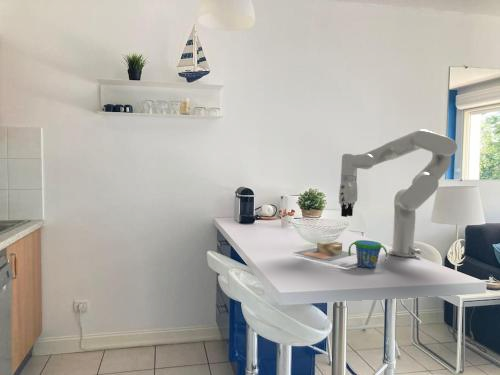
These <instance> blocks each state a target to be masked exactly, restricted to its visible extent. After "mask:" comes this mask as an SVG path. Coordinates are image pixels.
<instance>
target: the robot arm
mask: <svg viewBox="0 0 500 375" xmlns="http://www.w3.org/2000/svg"><path fill="white" fill-rule="evenodd" d="M421 149H423V150H426V151H427V152H431V153H432V158H431V160H430V161H429V162H428V164H426V166H425V167H424V168H423V169H421V170H420V172H419V173H417V174H416V175H414V177H413V179H412V182H411V185H410V186H408V188H403V189H400V190H398V191H397V192H396V194H395V195H394V199H393V202H394V203H393V205H394V206H393V207H394V215H393V231H392V233H393V234H392V248H391V249H389V250H388V253H389V254H391V255H392V256H396V257H403V258H414V257H417V254H418V255H422V253H423V250H422V249H419V248H417V246H416V245H415V244H414V242H415V230H416V210H417V209H419V208H420V207H421V206H422V205H423V204H424V203H425V202H427V201H428V200H429V199H430V197H431V196H433V195H434V194H435V192H436V191H437V190H438V188H439V184H440V183H439V180H441V179H442V177H443V176H444V175H445V174H446V173H447V172H448V170H449V168H450V166H451V162H452V156H453V155H454V154H455V153H456V152H457V150H458V144H457V142H456V141H455V140H454V139H453V138H451V137H448V136H446V135H442V134H439V133H436V132H432V131H429V130H427V129H418V130H415V131H413V132H410V133H408V134H406V135H403V136H401V137H399V138H396V139H394V140H391V141H389V142H386V143H385V144H383V145H381V146H379V147H377V148H375V149H372V150H369V151H367V152H365V153H362V154H360V153H359V154H357V153H356V154H355V153H343V154H342V156H341V166H340V168H341V169H340V170H341V172H340V173H341V174H340V186H339V192H338V204H339V205H340V208H341V211H340V212H341V213H340V214H341V215H340V216H341V217H345V218H347V217H353V213H354V206H355V204H356V203H357V201H358V183H357V179H358V178H357V177H358V176H357V175H358V169H360V170H369V169H371V168H373V167H374V166H376V165H379V164H382V163H384V162H387V161H391V160H392V161H393V160H395V159H399V158H400V157H403V156H405V155H408V154H410V153H413V152H416V151H418V150H421Z"/></svg>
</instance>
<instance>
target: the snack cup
mask: <svg viewBox="0 0 500 375" xmlns="http://www.w3.org/2000/svg"><path fill="white" fill-rule="evenodd" d="M353 245H355V249H356V261H357V265H358V266H359V267H360V268H367V269H374V268H377V264H378V260H379V256H380V252H381V250H382V249H381V248H383V250H384V252H385V258H384V261H385V262H386V261H387V257H388V251H387V248H386V247H385V246H384V245H383V244H382V243H380V242H378V241H374V240H373V241H372V240H365V239H361V240H360V239H359V240H356V241H353V242H352V243H351V244H350V245H349V247H348V251H347V252H348V253H349V256H348V257H351V254H350V253H351V247H352V246H353Z"/></svg>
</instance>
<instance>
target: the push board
mask: <svg viewBox="0 0 500 375" xmlns="http://www.w3.org/2000/svg"><path fill="white" fill-rule="evenodd" d="M295 254H296V256H298V257H299V256H300V255H301V256H300V257H302V258H303V257H309V258H312V259H313V258H314V259H316V260H317V261H321V260H323V261H321V262H324V261H326V262H332V261H336V260H340V259H344V258H347V257H351V256H355V255H356V256H357V253H354V252H350V254H351V256H349V253H348V251H344V250H342V252H341V254H340V255H333V254H329V253H324V252H319V251H317V247H314V248H310V249H305V250H304V249H303V250H300V251H295V252H293V254H292V255H293V256H294V255H295Z"/></svg>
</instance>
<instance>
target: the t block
mask: <svg viewBox="0 0 500 375" xmlns="http://www.w3.org/2000/svg"><path fill="white" fill-rule="evenodd" d="M316 248H317V251H319V252H324V253H329V254H333V255H340V254H341V252H342V251H343V242H339V241H332V242H331V241H330V242H325V241H319V242H317V243H316Z"/></svg>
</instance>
